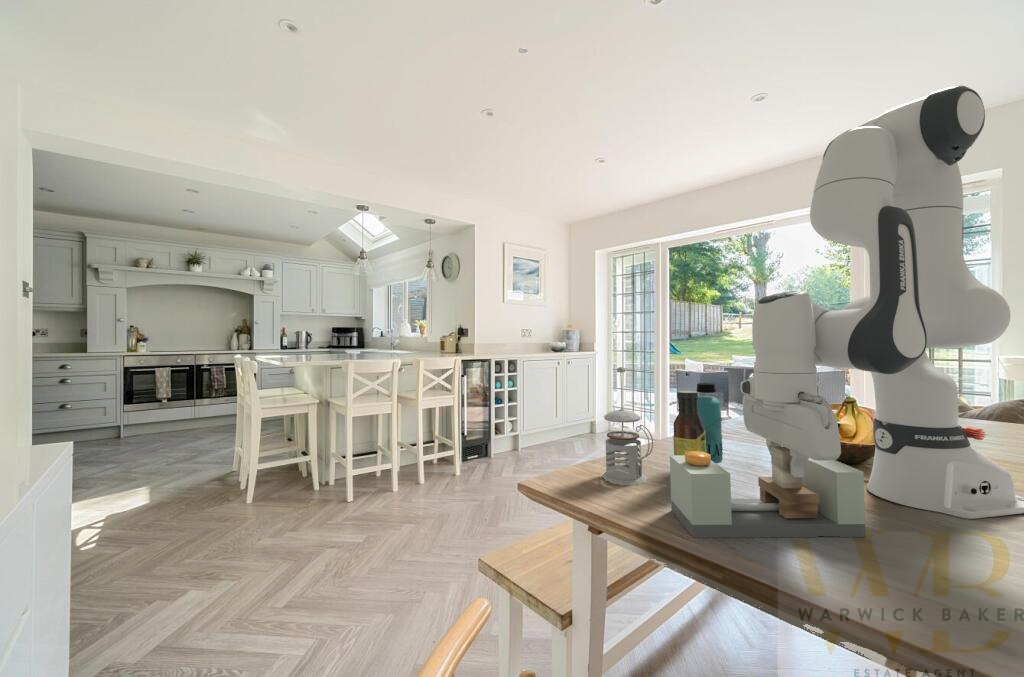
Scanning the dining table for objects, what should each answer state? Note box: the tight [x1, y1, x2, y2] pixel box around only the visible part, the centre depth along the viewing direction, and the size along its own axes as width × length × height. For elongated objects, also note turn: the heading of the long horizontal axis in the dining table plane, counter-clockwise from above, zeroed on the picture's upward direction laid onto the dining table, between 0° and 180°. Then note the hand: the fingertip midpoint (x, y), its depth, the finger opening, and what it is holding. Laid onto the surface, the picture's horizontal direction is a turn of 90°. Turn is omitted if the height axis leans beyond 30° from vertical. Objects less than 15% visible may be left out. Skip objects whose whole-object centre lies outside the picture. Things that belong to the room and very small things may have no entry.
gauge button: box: [685, 451, 711, 466], centre depth 69 cm, size 4×4×6 cm
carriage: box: [757, 446, 819, 518], centre depth 68 cm, size 5×8×10 cm, turn 177°
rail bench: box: [669, 454, 867, 539], centre depth 68 cm, size 26×10×10 cm, turn 87°
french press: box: [602, 366, 654, 486], centre depth 91 cm, size 10×12×25 cm
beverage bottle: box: [696, 382, 724, 464], centre depth 98 cm, size 6×7×20 cm
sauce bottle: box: [672, 390, 706, 456], centre depth 86 cm, size 7×6×20 cm
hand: (787, 471), depth 68 cm, fingers closed on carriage, 3 cm apart
